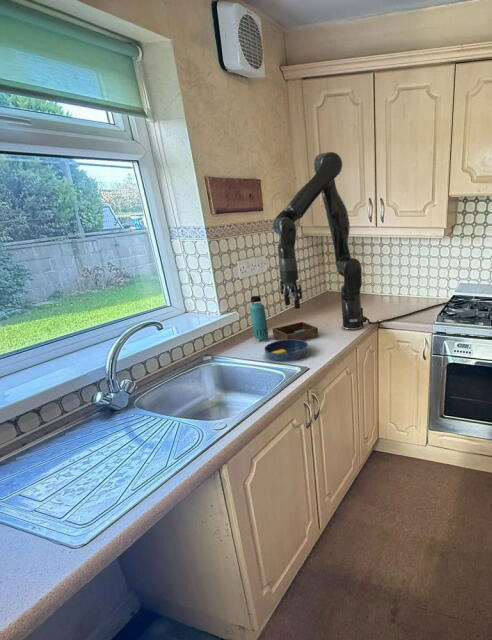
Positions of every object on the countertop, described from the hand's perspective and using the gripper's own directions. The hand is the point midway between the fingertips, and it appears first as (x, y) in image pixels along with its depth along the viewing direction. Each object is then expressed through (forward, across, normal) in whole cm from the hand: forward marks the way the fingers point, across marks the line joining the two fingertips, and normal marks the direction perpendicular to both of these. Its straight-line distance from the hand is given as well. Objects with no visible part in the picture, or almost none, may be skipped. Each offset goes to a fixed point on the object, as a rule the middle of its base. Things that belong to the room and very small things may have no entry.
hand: (292, 306), depth 177 cm
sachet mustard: (+15, -14, +15) cm, 26 cm away
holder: (+15, +3, -2) cm, 16 cm away
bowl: (+15, -14, +12) cm, 24 cm away
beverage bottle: (+16, +11, +11) cm, 22 cm away
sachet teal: (+15, +3, -5) cm, 16 cm away
